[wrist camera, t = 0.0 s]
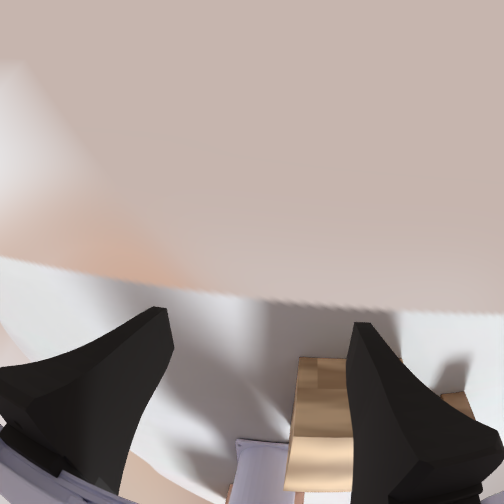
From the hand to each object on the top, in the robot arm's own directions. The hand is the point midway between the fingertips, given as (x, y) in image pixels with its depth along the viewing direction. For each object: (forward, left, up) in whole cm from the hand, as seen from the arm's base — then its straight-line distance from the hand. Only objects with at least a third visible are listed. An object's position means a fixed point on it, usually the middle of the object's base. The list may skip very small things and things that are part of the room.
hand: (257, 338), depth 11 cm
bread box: (-15, -6, -10) cm, 19 cm away
